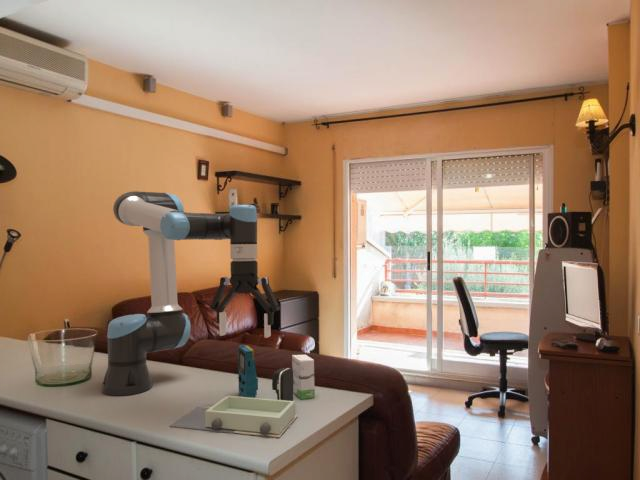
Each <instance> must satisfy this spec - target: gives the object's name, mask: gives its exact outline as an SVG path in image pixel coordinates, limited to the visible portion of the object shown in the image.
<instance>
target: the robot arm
mask: <svg viewBox="0 0 640 480" xmlns="http://www.w3.org/2000/svg"><path fill="white" fill-rule="evenodd" d="M112 211H113V215H114V217H115V219H116V220H117V221H118V222H120V223H121V224H123V225H126V226H130V227H142V232H143V234H145V235H146V236H147V239H148V240H147V242H148V257H149V258H148V259H149V260H148V261H149V278H150V280H149V282H150V299H151V307H150V308H149V309H148V310H147V312H146V313H147V315H146V314H143V313H134V314H128V315H123V316H118V317H116V318H114V319H112V320H111V321H109V322H108V325H107V334H106V338H107V369H106V372H105V374H104V378H103V381H102V385H101V391H102V394H105V395H109V396H117V397H118V396H131V395H136V394H141V393H144V392H147V391H148V390H151V389H152V388H153V380H152V375H151V373H150V370H149V367H148V364H147V354H150V353H156V352H161V351H168V350H174V349H176V348H182V347H183V346H185V344H186V343H187V341H189V338H190V335H191V325H192V324H191V320H190V318H189V316H188V315H187V314H186V313H184V312H183V308H182V307H181V306H180V305H179V303H178V286H177V284H178V283H177V270H176V249H175V241H181V240H182V241H183V240H186V241H187V240H189V241H190V240H202V241H203V240H206V241H207V240H214V241H222V240H229V245H230V253H229V254H230V257H229V258H230V260H231V261H230V264H229V265H230V277H227V276H222V277H220V278H219V286H218V288H217V291H216V293H215V295H214V297H213V299H212V302H211V303H210V307H209V309H210V310H211V311H215V313H216V323H217V324H219V336H220V337H222V336H225V335H227V311H225V309H226V308H227V306H228V305H229V304H230V302H231V301H232V299H233V298H234V297H235V296H236V295H237V294H251V295H252V296H253V297H254V298H255V299H256V301H257V302H258V303H259V304H260V305H261V307H262V308H263V310H264V311H265V313H264V314H263V315H264V316H263V320H264V321H263V322H264V323H263V327H264V328H263V331H264V333H263V335H264V338H265V339H267V338H270V337H271V336H272V333H271V330H272V329H271V327H272V325H274V322H275V321H274V315H275V314H274V313H275V312H277V311H280V310H281V306H280V304H279V302H278V300H277V298H276V296H275V295H274V292H273V290H272V287H271V286H270V281H269V277H267V276H266V277H262V278H261V277H260V278H259V276H258V264H259V263H258V260H256V259H258V258H259V257H258V216H257V215H258V213H257V207H256V206H255V205H254V204H253V205H251V204H233V205H231V206H230V208H229V212H228V213H206V212H203V213H202V212H198V213H197V212H185V209H184V204H183V202H182V201H181V199H180V198H179V197H178V196H177V195H175V194H172V193H167V192H157V191H155V192H154V191H153V192H152V191H138V190H134V191H127V192H125V193H123V194H121V195H120V196H118V197H117V199H115V201H114V203H113V207H112ZM229 284H230V286H231V288H230V289H229V291H228V293H227V294H226V296H225V297H223V296H224V294H225V293H226V290H227V286H228V285H229ZM258 284H259V285H260V286H261V287H262V289H263V292H264V294H265V296H266V298H267V299H266V298H265V296H264V295H263V294H262V292H261V290H260V289H259V287H258ZM146 316H147V317H146Z"/></svg>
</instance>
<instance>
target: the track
mask: <svg viewBox="0 0 640 480" xmlns="http://www.w3.org/2000/svg"><path fill="white" fill-rule="evenodd" d="M209 408H210V407H203V406H197V407H196V408H194V409H191V411H190V412H188V413H187V414H185V415H183V416H182V417H180V418H179V419H178V420H176V421H174V422H173V423H171V424H170V425H169V427H170V428H178V429H187V430H194V431H195V430H197V431H204V432H205V431H206V432H217V433H226V434H237V435H244V436H253V437H262V438H263V437H264V438H272V439H273V438H274V439H280V438H281V436H283V434H284V433H285V432H286V431H287V430H288V429H289V428H290V426H291V425H292V424H293V423H294V422H295V421H296V419H298V415H295V417H294V418H293V419H292V420H291V421H290V423H289V424H288V425H287V426H286V427H285V428H284V429H283V431H282V432H281V433H280V434H273V433H268V434H266V435H264V434H262V433H261V432H254V431H244V430H234V429H224V428H219V429H217V430H215V429H213V428H212V427H205V411H206V410H208V409H209Z"/></svg>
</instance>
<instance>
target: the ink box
mask: <svg viewBox="0 0 640 480" xmlns="http://www.w3.org/2000/svg"><path fill="white" fill-rule="evenodd" d="M291 362H292V363H291V367H292V368H291V369H292V370H293V394H295V395H296V396H297V397H298V398H299V399H300V400H306V399H315V397H316V395H315V393H316V392H315V359H313V358H312V357H310V356H308V355H307V354H292V355H291Z"/></svg>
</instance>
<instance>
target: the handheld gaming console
mask: <svg viewBox="0 0 640 480" xmlns="http://www.w3.org/2000/svg"><path fill="white" fill-rule="evenodd" d="M237 378H238V393H239V396H240V397H250V398H257V393H258V390H259V379H258V376H257V373H256V360H255V350H254V349H253V348H252V347H250V346H249V345H243V344H242V345H239V346H238V377H237Z"/></svg>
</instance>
